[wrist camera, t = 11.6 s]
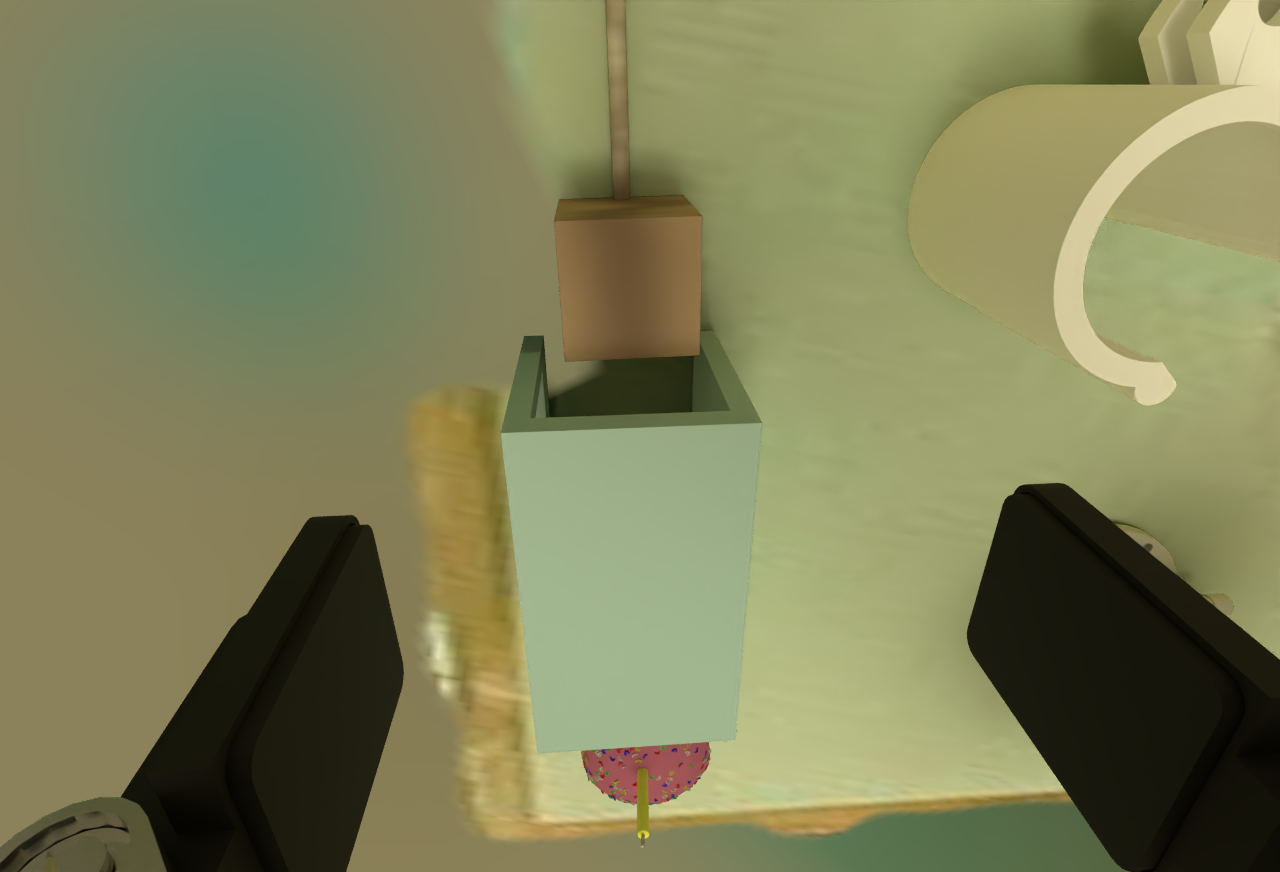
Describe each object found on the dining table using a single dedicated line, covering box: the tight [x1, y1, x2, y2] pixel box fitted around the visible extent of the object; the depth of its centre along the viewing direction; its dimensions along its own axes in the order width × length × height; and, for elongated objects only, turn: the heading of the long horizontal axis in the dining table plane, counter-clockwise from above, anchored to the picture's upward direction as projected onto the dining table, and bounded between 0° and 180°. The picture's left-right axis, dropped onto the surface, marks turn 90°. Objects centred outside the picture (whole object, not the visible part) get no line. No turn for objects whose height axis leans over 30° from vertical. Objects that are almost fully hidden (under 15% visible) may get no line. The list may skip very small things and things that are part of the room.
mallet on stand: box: [554, 0, 702, 362], centre depth 27 cm, size 6×24×7 cm, turn 1°
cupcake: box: [581, 742, 711, 848], centre depth 43 cm, size 9×8×12 cm
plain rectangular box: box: [501, 331, 762, 754], centre depth 35 cm, size 10×18×11 cm, turn 0°
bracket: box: [908, 0, 1280, 406], centre depth 27 cm, size 25×10×12 cm, turn 136°
